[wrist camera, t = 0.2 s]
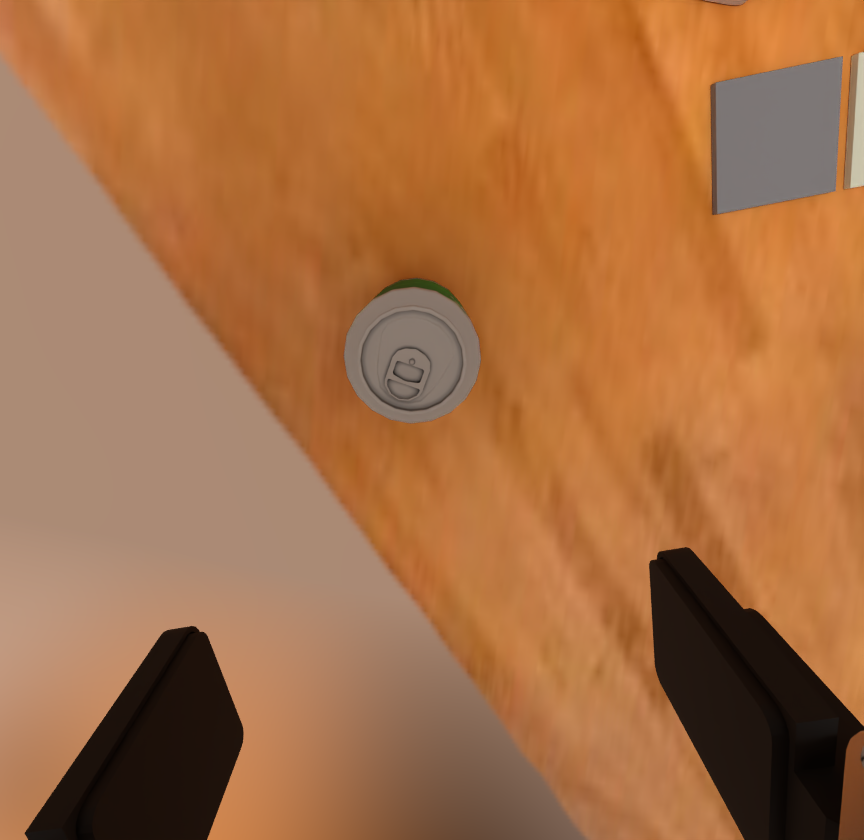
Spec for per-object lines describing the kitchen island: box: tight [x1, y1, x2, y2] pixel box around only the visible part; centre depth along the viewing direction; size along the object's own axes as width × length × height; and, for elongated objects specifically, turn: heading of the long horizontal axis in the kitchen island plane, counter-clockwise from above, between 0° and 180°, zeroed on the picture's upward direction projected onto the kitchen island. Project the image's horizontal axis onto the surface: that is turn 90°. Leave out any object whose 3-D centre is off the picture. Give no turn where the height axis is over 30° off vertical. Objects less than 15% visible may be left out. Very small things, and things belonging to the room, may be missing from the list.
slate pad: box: [711, 56, 843, 215], centre depth 35 cm, size 8×8×1 cm
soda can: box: [344, 278, 481, 423], centre depth 33 cm, size 8×8×12 cm
